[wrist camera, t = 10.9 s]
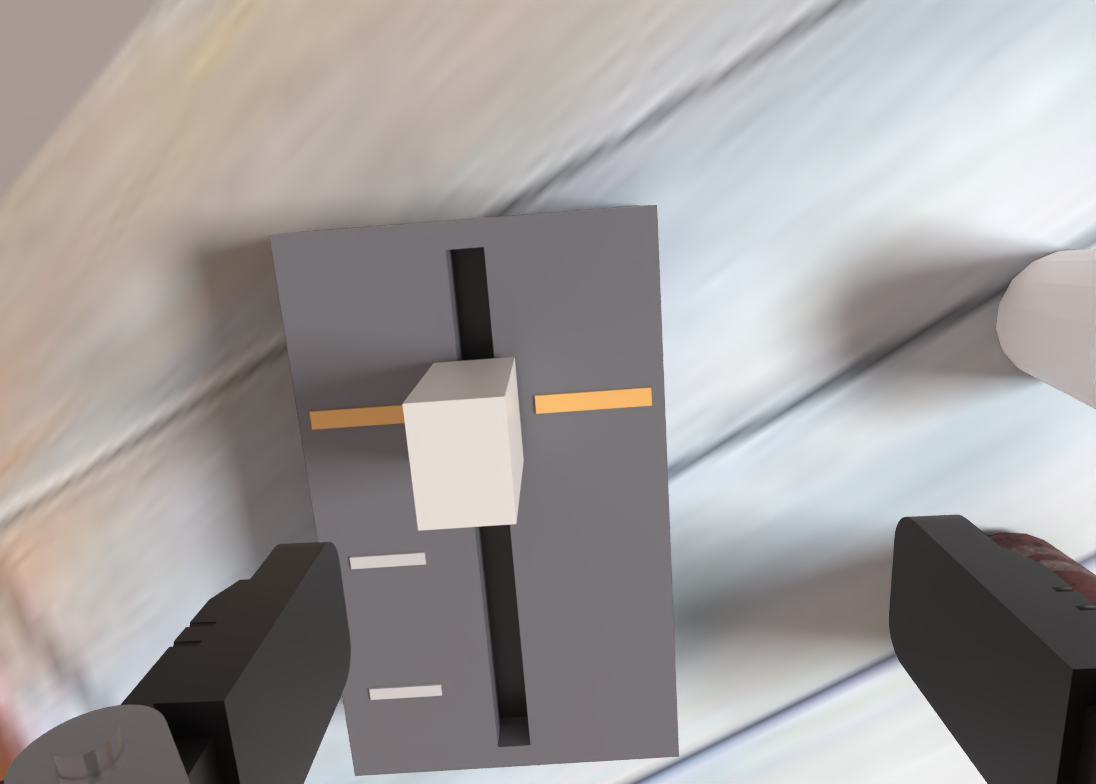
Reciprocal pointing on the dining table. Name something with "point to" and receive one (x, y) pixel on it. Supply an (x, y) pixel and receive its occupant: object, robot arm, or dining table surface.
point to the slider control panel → (545, 495)
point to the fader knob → (465, 444)
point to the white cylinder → (1054, 322)
